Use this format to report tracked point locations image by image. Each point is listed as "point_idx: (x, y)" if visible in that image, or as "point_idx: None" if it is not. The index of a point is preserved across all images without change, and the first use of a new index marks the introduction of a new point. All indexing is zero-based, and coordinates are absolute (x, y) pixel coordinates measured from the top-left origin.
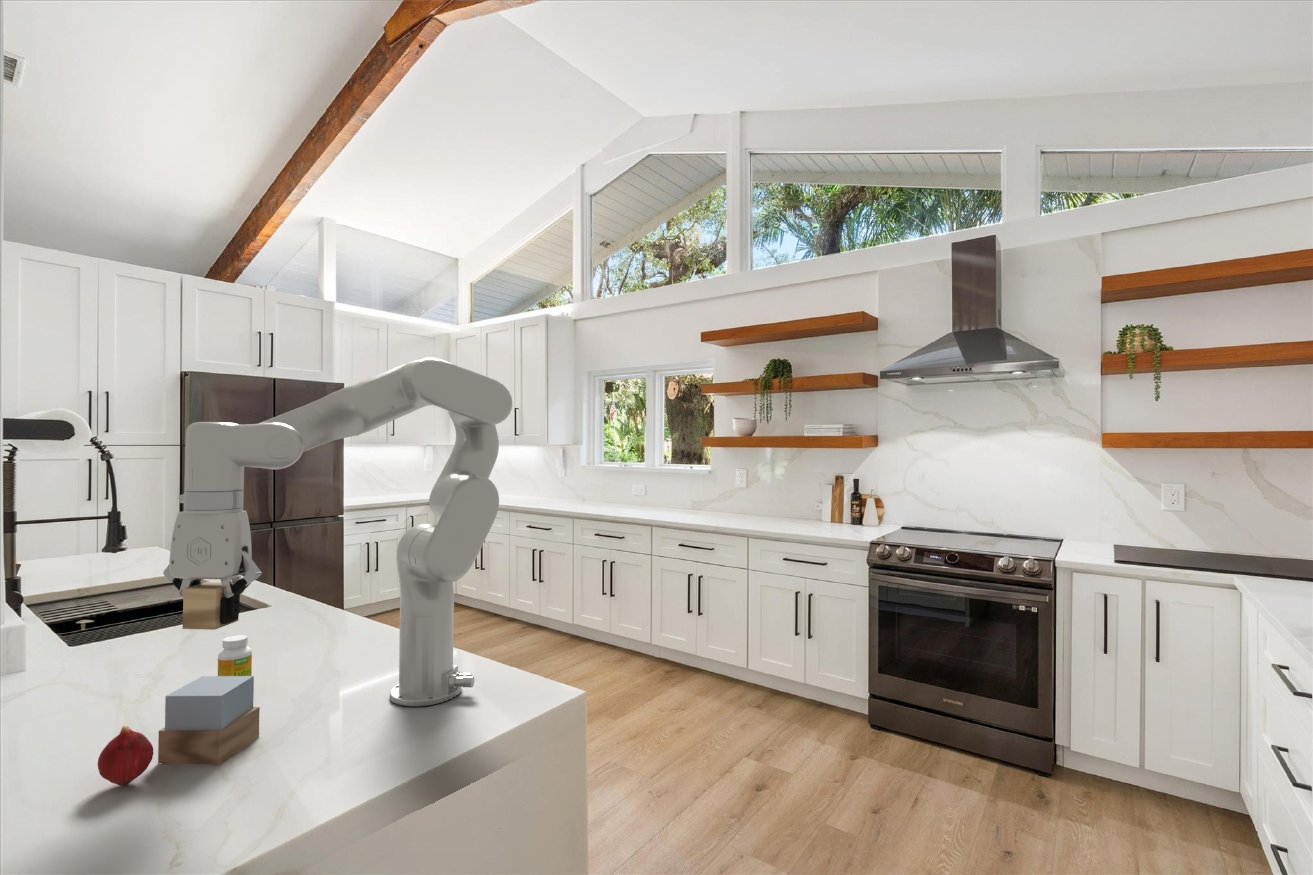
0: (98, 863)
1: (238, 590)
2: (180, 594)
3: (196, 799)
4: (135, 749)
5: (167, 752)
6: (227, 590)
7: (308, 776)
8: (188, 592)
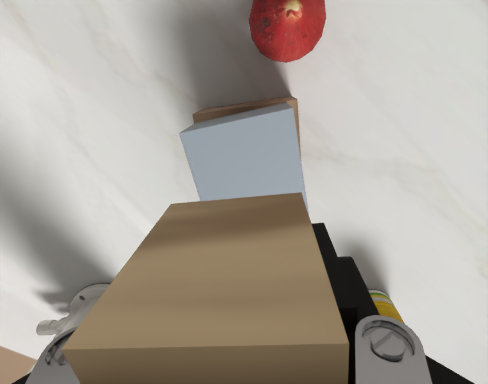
0: None
1: (18, 380)
2: (402, 329)
3: (148, 16)
4: (256, 4)
5: (278, 99)
6: (56, 368)
7: (65, 105)
8: (295, 314)
